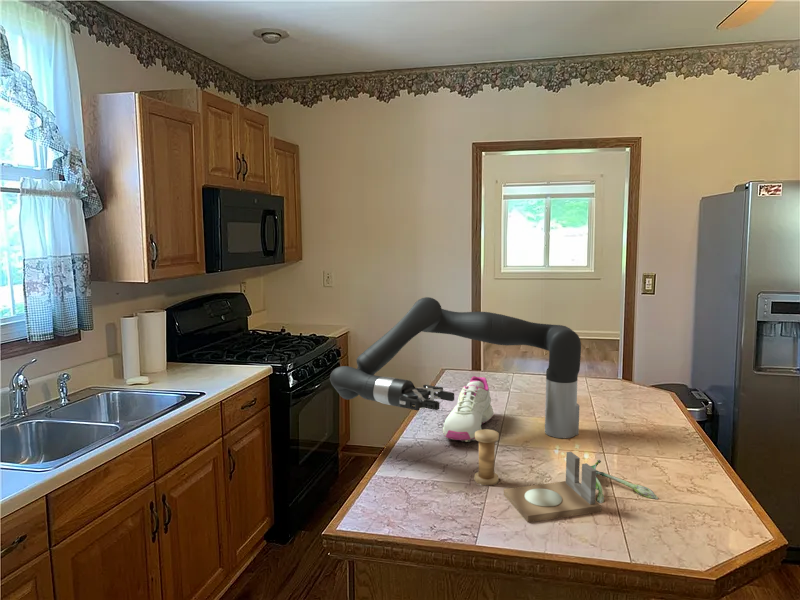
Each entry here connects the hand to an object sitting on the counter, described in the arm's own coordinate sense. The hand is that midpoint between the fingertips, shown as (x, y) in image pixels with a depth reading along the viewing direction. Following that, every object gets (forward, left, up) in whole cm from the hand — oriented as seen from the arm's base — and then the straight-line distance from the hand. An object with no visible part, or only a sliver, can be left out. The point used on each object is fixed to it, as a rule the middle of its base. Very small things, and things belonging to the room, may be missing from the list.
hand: (446, 401), depth 150 cm
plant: (-37, +22, -20) cm, 47 cm away
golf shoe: (-16, -26, -19) cm, 36 cm away
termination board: (-18, +23, -19) cm, 35 cm away
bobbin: (-8, +8, -19) cm, 22 cm away
